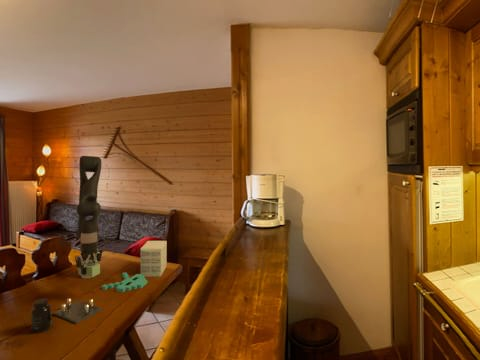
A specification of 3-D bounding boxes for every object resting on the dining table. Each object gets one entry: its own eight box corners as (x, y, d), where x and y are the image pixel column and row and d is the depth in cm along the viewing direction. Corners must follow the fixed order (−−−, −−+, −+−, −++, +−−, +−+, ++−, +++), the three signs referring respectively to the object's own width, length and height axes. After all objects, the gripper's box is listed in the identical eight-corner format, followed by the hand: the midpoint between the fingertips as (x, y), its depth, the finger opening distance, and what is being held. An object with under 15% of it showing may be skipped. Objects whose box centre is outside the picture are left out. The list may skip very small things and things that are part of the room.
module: (78, 274, 138) (78, 264, 138) (86, 270, 143) (86, 260, 143) (92, 277, 136) (92, 266, 135) (100, 273, 140) (100, 263, 140)
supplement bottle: (38, 323, 116) (37, 297, 116) (54, 323, 117) (54, 296, 116) (27, 333, 110) (26, 305, 109) (44, 333, 110) (44, 305, 109)
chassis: (53, 314, 123) (53, 303, 123) (78, 302, 134) (78, 292, 134) (76, 323, 117) (76, 312, 117) (100, 310, 128) (100, 300, 127)
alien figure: (101, 290, 149) (134, 294, 145) (101, 286, 149) (134, 290, 145) (124, 275, 169) (153, 279, 165) (124, 272, 169) (153, 275, 165)
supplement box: (147, 266, 184) (147, 240, 183) (166, 266, 185) (167, 240, 184) (139, 276, 167) (139, 248, 166) (161, 276, 168) (161, 248, 167)
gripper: (96, 236, 146) (96, 266, 147) (70, 243, 133) (70, 276, 134) (106, 238, 143) (106, 269, 144) (80, 245, 130) (80, 279, 131)
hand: (89, 272), depth 139 cm, fingers closed on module, 5 cm apart
